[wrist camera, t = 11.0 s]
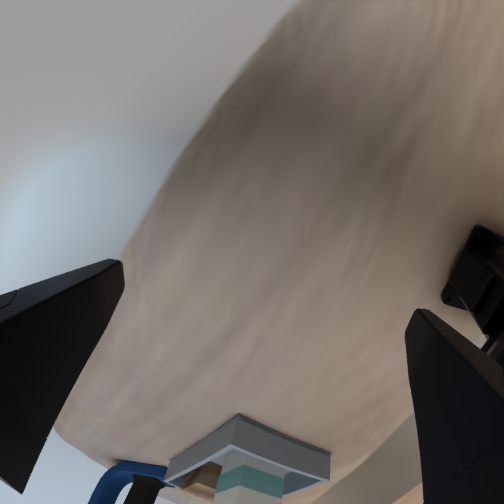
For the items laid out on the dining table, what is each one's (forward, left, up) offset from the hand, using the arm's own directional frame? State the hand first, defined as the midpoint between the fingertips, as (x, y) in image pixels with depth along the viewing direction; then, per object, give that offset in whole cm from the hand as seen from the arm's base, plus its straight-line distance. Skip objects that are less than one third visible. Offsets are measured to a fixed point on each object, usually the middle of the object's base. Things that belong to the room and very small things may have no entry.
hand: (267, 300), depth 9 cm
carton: (-5, +31, -11) cm, 34 cm away
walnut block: (-2, +40, -11) cm, 42 cm away
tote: (-4, +35, -12) cm, 37 cm away
